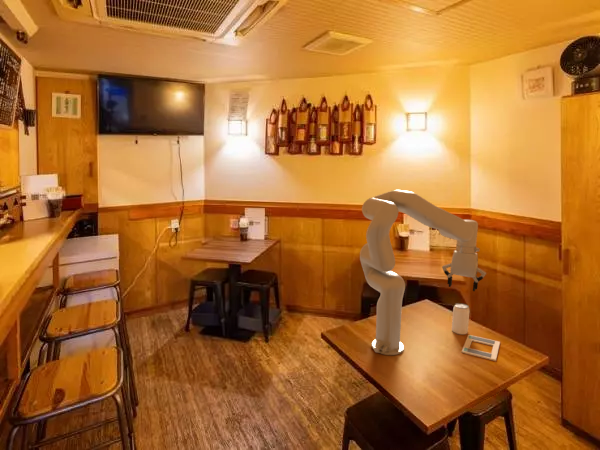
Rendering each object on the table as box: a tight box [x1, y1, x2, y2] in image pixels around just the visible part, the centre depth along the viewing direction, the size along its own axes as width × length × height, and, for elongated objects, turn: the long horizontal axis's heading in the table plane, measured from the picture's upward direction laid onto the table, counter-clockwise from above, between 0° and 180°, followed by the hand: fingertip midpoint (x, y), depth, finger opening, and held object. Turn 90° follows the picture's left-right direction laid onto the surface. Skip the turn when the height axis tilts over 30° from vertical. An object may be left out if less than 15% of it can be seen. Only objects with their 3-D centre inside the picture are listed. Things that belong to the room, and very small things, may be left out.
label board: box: [461, 334, 501, 362], centre depth 152 cm, size 16×12×1 cm
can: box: [451, 302, 470, 336], centre depth 165 cm, size 6×6×12 cm
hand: (461, 288), depth 162 cm, fingers open, 9 cm apart
